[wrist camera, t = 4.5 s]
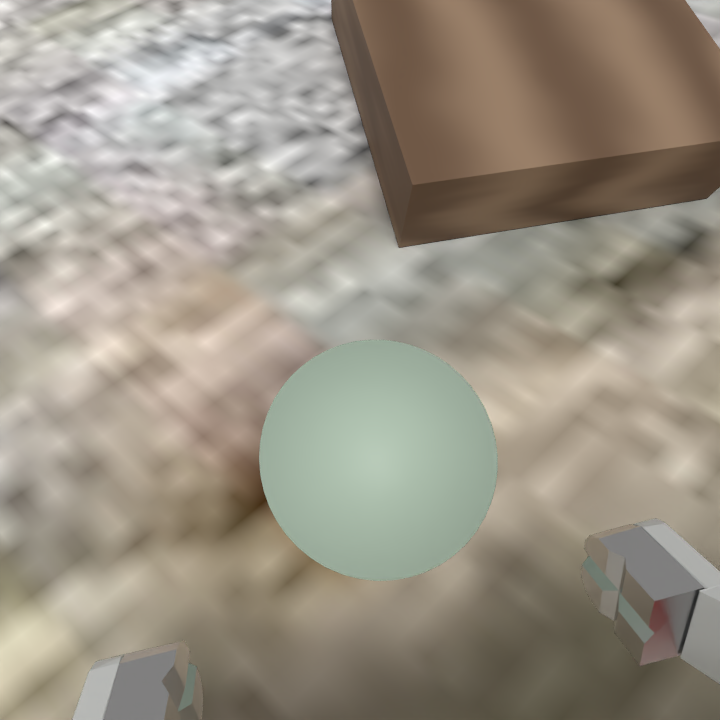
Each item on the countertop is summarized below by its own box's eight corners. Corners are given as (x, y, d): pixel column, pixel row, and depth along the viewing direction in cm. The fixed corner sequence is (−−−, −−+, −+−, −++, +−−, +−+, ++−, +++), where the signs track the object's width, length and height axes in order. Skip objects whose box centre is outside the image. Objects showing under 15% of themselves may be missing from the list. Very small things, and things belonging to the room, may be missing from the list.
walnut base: (584, -6, 28) (622, -89, 24) (706, 198, 23) (779, 132, 19) (331, 18, 26) (330, -68, 23) (398, 247, 21) (412, 184, 17)
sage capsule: (408, 409, 18) (458, 322, 11) (442, 541, 16) (530, 547, 9) (283, 435, 18) (244, 361, 10) (306, 574, 16) (279, 610, 8)
